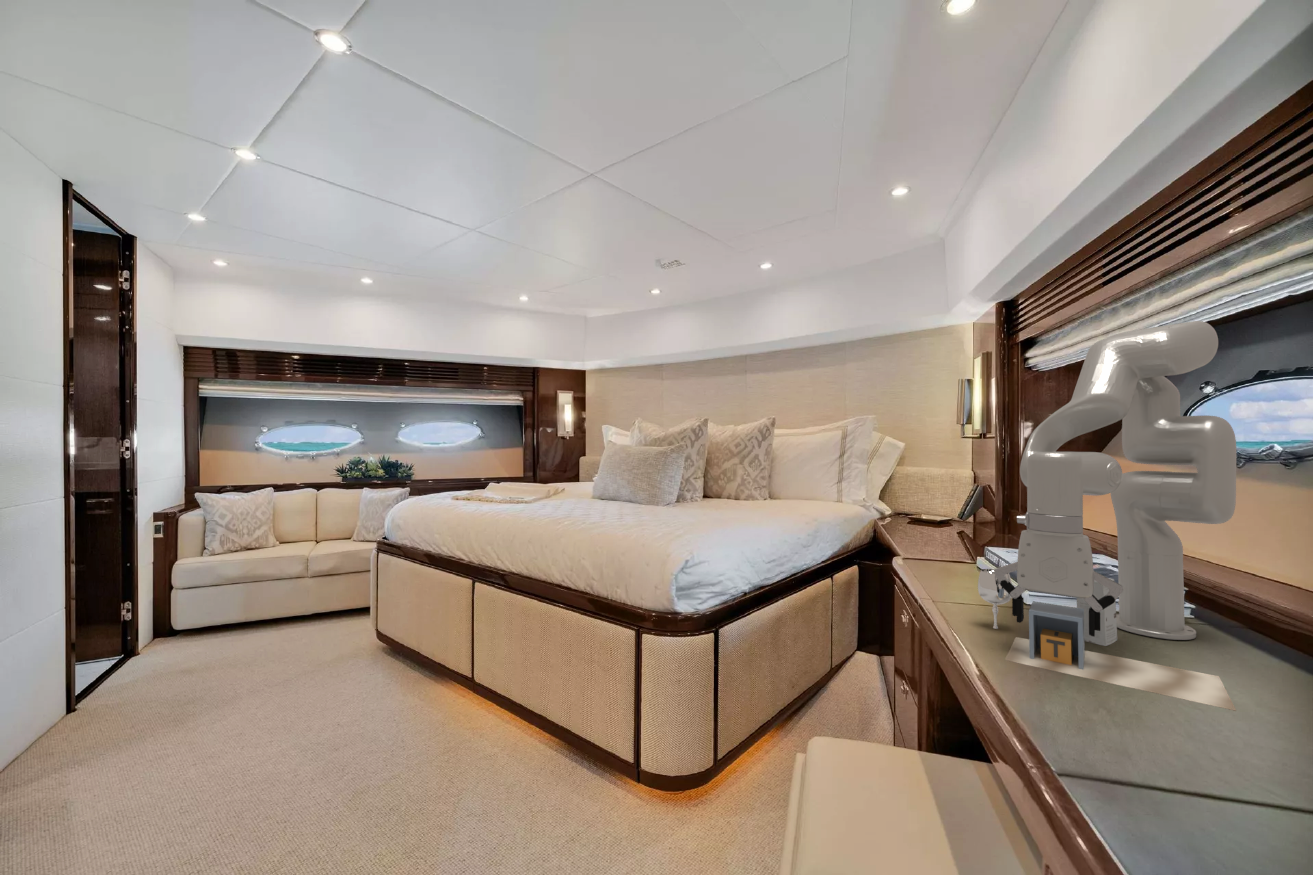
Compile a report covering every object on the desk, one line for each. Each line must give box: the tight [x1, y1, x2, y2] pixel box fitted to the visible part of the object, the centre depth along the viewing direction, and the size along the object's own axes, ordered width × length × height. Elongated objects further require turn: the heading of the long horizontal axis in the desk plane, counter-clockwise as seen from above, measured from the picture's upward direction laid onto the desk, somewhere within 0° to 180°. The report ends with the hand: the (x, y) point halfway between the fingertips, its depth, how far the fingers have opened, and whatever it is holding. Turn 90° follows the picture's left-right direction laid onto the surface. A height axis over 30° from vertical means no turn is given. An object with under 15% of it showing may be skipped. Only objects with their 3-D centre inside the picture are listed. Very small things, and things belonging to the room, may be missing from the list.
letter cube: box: [1041, 629, 1073, 665], centre depth 88 cm, size 4×4×4 cm
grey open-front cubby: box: [1028, 600, 1086, 670], centre depth 88 cm, size 7×7×8 cm
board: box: [1004, 636, 1237, 712], centre depth 84 cm, size 26×14×1 cm, turn 49°
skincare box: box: [1076, 577, 1118, 647], centre depth 97 cm, size 6×4×12 cm
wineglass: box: [977, 568, 1013, 630], centre depth 103 cm, size 6×6×12 cm
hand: (1054, 627), depth 88 cm, fingers open, 9 cm apart
